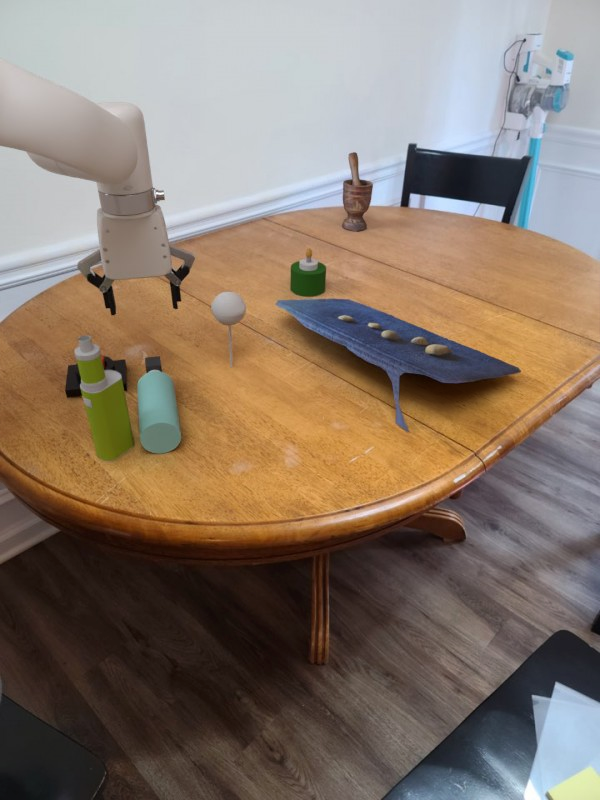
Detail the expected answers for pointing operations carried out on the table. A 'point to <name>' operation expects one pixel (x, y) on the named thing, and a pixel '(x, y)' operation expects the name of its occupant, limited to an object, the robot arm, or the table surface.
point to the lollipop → (228, 312)
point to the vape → (103, 403)
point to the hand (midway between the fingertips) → (144, 308)
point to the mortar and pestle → (356, 197)
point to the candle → (308, 277)
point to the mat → (394, 344)
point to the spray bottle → (157, 409)
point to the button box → (75, 379)
